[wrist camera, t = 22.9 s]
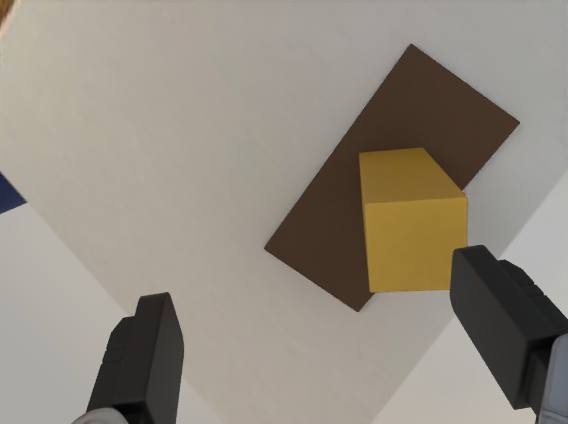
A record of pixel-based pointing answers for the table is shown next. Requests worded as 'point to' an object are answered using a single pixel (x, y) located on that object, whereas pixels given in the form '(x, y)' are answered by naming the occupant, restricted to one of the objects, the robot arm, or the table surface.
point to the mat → (381, 137)
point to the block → (410, 220)
